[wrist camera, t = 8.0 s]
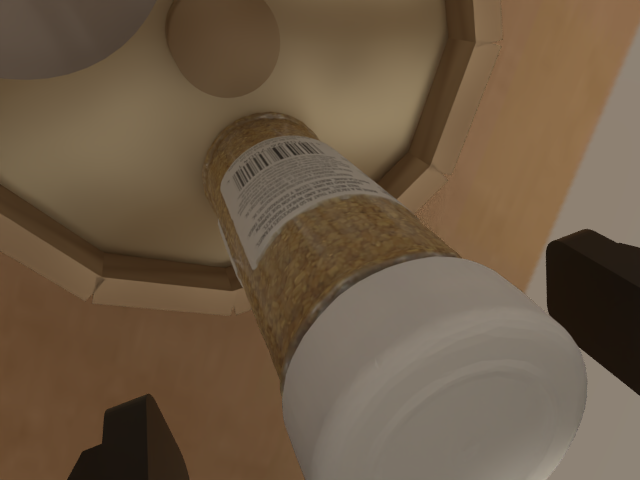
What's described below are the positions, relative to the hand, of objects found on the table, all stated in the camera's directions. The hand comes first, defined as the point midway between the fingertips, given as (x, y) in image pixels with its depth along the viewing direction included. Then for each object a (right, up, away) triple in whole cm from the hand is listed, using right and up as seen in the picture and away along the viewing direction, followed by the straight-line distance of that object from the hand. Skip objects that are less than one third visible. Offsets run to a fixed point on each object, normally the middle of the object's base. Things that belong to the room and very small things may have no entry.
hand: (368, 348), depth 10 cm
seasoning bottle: (-3, +5, +9) cm, 11 cm away
